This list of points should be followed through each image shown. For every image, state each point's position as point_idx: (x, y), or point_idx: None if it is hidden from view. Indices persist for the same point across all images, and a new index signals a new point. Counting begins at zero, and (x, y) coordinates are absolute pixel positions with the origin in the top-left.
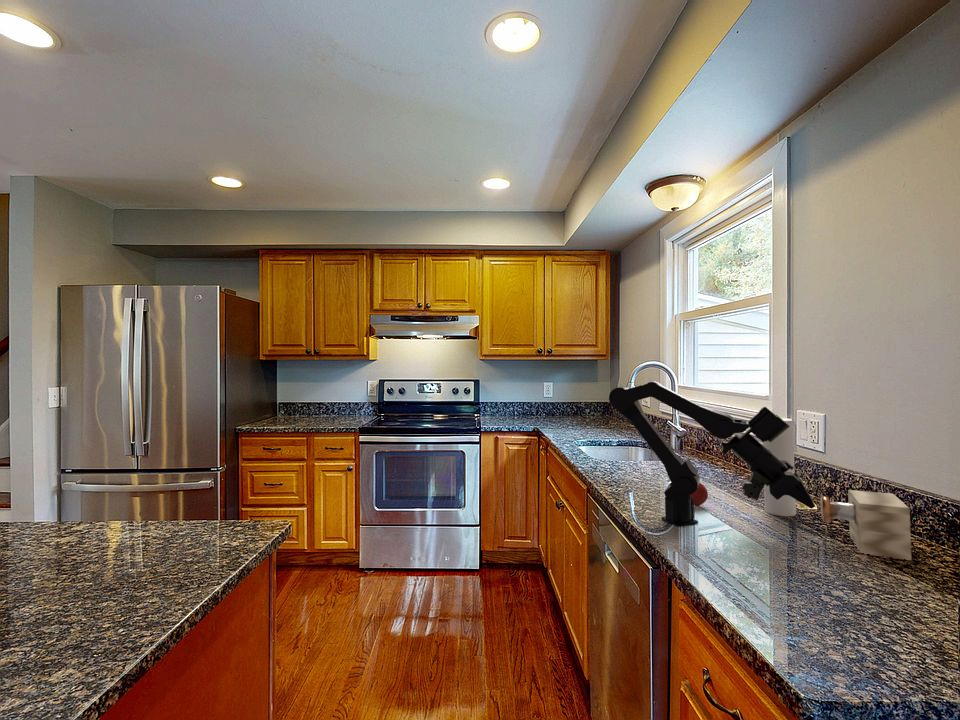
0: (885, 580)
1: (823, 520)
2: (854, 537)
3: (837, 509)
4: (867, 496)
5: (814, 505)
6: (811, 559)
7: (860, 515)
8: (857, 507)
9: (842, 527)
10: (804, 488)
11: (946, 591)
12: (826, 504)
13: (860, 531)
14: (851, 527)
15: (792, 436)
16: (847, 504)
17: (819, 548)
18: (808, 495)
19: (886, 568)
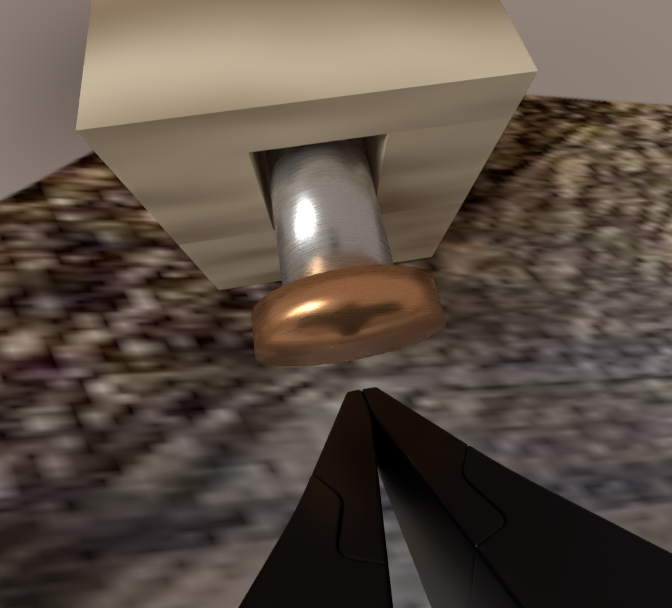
0: (640, 205)
1: (381, 352)
2: None
3: (390, 251)
4: (265, 37)
5: (376, 390)
6: (639, 402)
7: (495, 142)
8: (447, 125)
9: (106, 316)
10: (539, 488)
11: (594, 106)
12: (434, 296)
13: (460, 205)
14: (250, 262)
15: None
16: (345, 181)
17: (473, 383)
18: (444, 433)
19: (527, 200)
